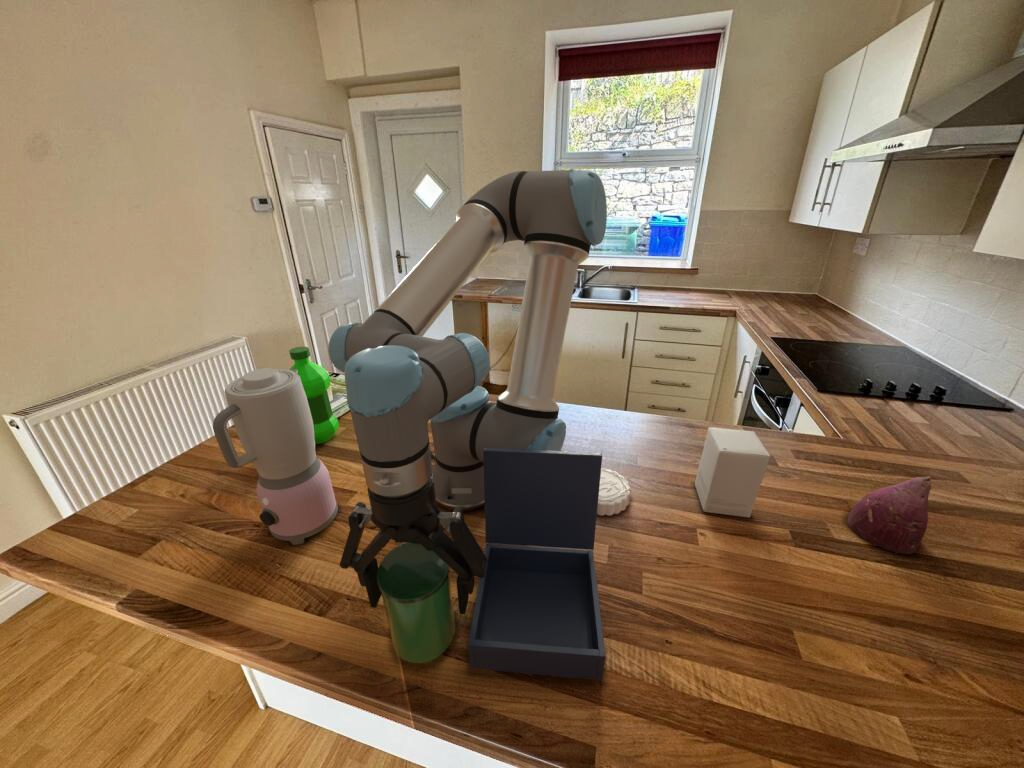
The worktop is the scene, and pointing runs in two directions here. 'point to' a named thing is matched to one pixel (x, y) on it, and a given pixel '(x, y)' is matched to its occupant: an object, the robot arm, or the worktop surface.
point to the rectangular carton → (731, 471)
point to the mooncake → (612, 493)
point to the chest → (538, 613)
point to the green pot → (417, 602)
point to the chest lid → (541, 497)
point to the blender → (278, 451)
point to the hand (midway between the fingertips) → (420, 601)
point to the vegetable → (893, 515)
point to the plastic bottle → (315, 393)
